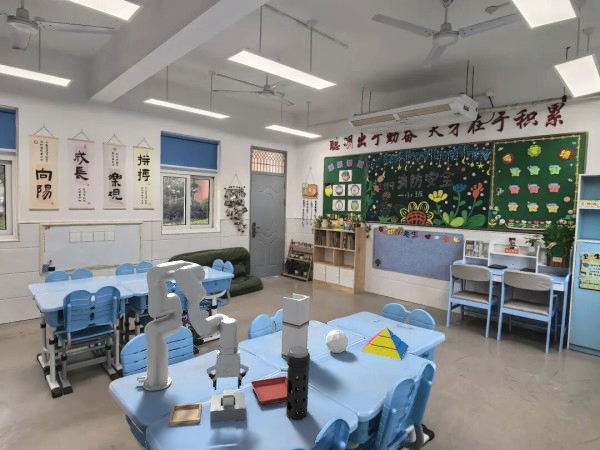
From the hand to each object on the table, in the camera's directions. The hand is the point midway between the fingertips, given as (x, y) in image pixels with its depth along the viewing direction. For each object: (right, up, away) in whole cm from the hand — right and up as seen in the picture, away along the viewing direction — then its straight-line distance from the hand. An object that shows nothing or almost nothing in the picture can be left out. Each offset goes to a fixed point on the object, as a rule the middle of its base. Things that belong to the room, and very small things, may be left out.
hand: (227, 387), depth 151 cm
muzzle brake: (+30, -12, +2) cm, 32 cm away
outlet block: (0, -11, +1) cm, 11 cm away
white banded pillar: (+28, -8, +56) cm, 63 cm away
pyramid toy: (+83, -9, +71) cm, 110 cm away
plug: (0, -10, 0) cm, 10 cm away
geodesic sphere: (+52, -8, +64) cm, 83 cm away
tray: (-16, -11, -3) cm, 20 cm away
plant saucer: (+18, -11, +17) cm, 27 cm away
